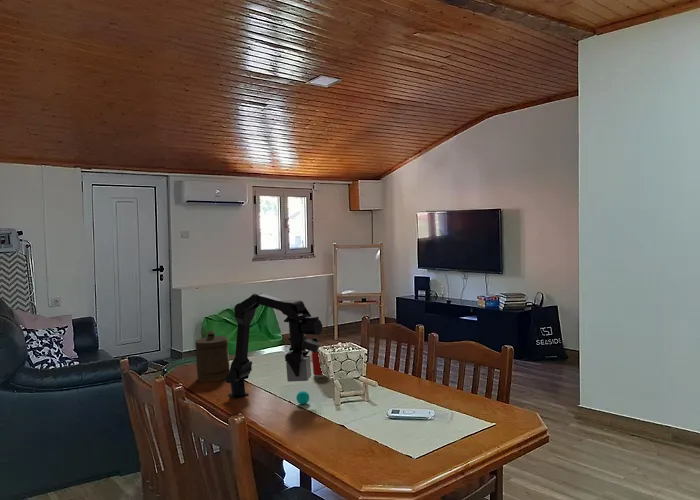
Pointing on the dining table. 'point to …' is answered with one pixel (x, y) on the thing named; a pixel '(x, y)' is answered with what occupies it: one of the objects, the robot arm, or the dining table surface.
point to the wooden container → (212, 358)
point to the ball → (302, 397)
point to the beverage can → (316, 365)
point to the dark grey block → (303, 372)
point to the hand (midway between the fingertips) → (299, 373)
